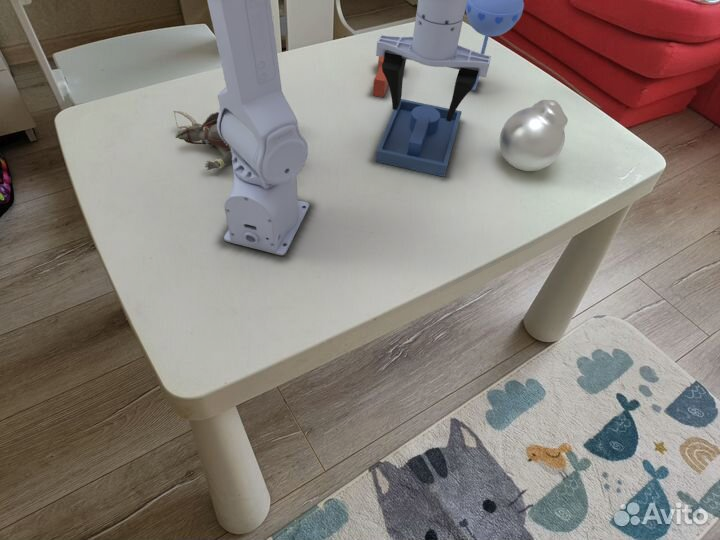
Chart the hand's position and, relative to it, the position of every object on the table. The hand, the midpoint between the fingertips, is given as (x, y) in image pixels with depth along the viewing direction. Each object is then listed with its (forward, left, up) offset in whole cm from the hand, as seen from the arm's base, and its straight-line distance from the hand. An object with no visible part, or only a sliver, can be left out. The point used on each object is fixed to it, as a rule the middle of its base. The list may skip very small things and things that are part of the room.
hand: (422, 111), depth 73 cm
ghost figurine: (+2, -16, -7) cm, 17 cm away
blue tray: (+2, 0, -6) cm, 7 cm away
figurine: (-7, +25, -7) cm, 27 cm away
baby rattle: (+20, -6, -7) cm, 22 cm away
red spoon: (+17, +9, -6) cm, 20 cm away
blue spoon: (+2, 0, -6) cm, 6 cm away
